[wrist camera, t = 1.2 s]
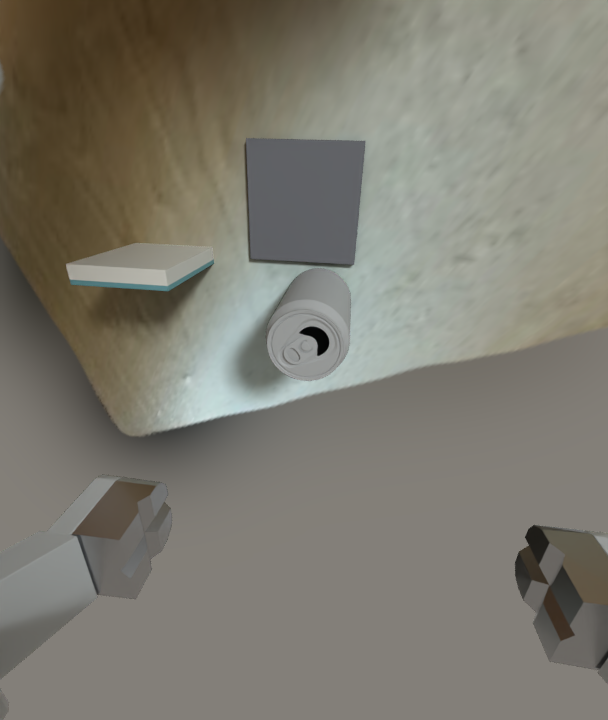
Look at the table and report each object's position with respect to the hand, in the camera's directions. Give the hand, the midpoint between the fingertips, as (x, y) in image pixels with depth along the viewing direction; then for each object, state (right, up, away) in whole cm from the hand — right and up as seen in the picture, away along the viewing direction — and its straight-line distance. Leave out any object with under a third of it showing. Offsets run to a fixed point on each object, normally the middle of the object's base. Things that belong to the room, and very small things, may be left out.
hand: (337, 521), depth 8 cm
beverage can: (+1, +10, +28) cm, 30 cm away
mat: (-1, +18, +24) cm, 30 cm away
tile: (-14, +15, +28) cm, 34 cm away
